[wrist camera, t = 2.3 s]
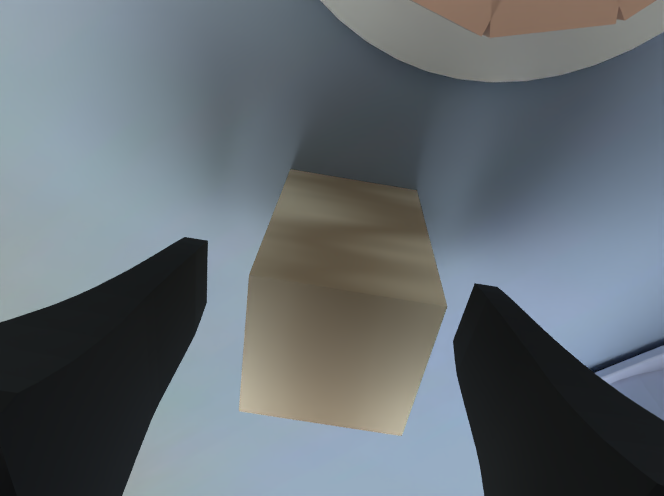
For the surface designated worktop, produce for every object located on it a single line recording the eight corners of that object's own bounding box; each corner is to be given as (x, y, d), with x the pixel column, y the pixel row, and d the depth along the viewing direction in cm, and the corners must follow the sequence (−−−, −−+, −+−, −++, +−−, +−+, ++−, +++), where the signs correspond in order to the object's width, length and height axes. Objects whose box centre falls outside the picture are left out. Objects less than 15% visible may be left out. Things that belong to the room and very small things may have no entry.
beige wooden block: (416, 189, 14) (447, 306, 9) (389, 292, 16) (401, 435, 11) (290, 168, 14) (249, 274, 9) (278, 274, 16) (238, 411, 11)
